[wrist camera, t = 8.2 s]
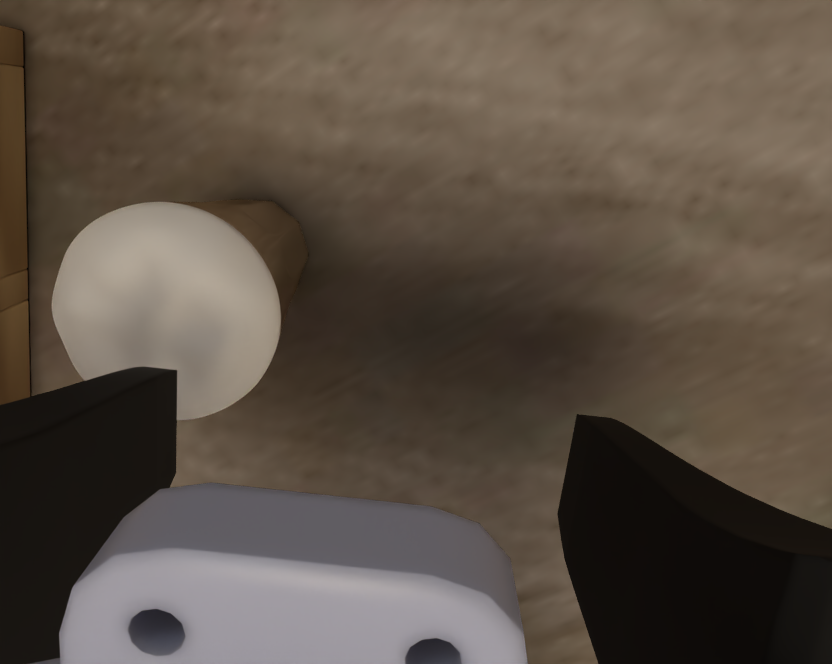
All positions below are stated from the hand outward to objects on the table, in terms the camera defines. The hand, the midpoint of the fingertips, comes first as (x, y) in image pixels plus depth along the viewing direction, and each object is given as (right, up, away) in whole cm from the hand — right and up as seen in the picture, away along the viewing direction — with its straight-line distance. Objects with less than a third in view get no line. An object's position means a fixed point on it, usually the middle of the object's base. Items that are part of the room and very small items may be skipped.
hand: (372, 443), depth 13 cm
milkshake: (-4, +4, +10) cm, 12 cm away
